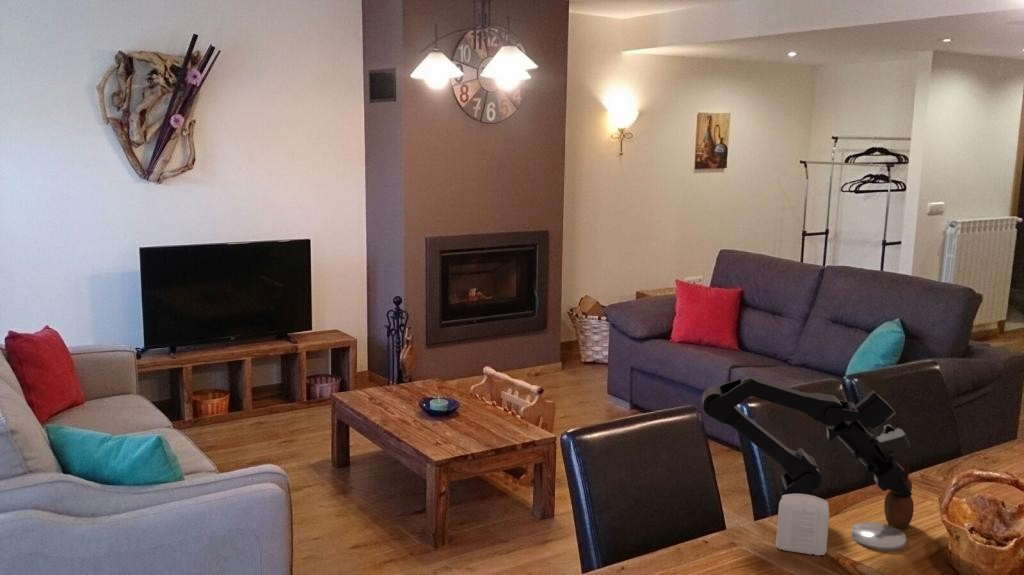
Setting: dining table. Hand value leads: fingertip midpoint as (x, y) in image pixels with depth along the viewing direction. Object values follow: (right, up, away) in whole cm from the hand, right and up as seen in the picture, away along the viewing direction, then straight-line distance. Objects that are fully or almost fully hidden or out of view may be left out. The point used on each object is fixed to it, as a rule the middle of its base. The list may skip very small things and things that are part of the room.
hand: (906, 491), depth 203 cm
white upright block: (-28, -10, -11) cm, 32 cm away
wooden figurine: (-2, -8, +1) cm, 8 cm away
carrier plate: (-9, -9, -6) cm, 14 cm away
